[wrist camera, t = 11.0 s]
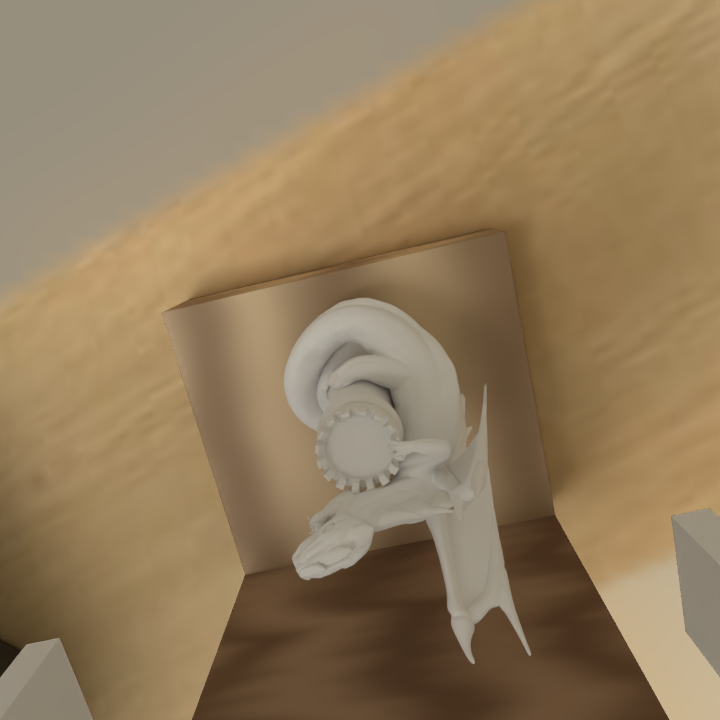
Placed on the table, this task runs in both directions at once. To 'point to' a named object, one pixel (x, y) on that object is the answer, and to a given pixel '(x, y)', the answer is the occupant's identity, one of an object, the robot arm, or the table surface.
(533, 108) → the table surface
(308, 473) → the wall shelf
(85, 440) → the table surface
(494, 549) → the figurine
